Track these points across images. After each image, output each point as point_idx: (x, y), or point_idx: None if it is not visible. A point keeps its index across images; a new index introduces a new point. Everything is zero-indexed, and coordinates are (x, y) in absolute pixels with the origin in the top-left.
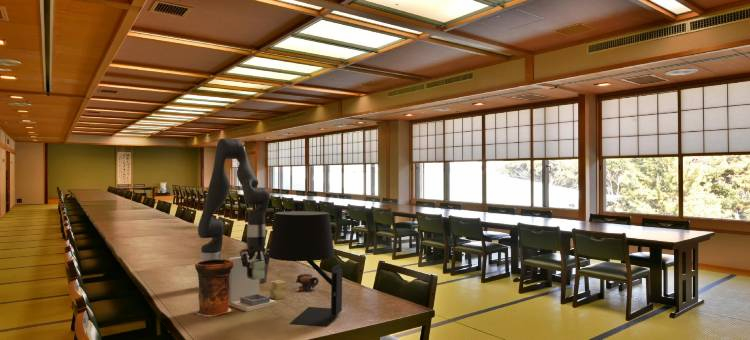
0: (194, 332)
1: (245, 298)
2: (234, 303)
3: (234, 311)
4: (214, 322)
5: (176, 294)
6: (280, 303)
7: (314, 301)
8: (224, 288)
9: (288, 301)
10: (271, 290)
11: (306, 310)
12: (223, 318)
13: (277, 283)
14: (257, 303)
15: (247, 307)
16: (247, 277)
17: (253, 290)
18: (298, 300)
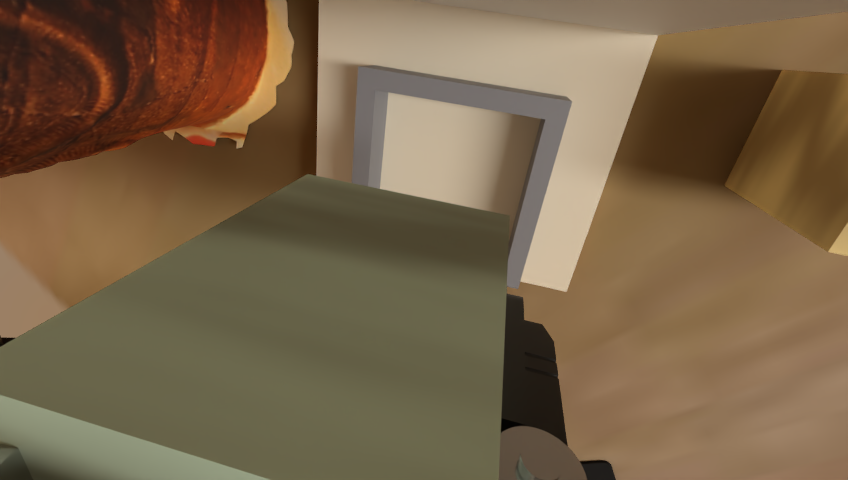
0: (4, 237)
1: (363, 141)
2: (318, 54)
3: (275, 145)
4: (107, 207)
5: None
6: (608, 285)
7: (765, 445)
8: (5, 174)
9: (690, 304)
10: (819, 105)
11: None
12: (165, 197)
13: (832, 251)
14: None
15: None
16: (302, 183)
17: (591, 19)
18: (753, 350)
